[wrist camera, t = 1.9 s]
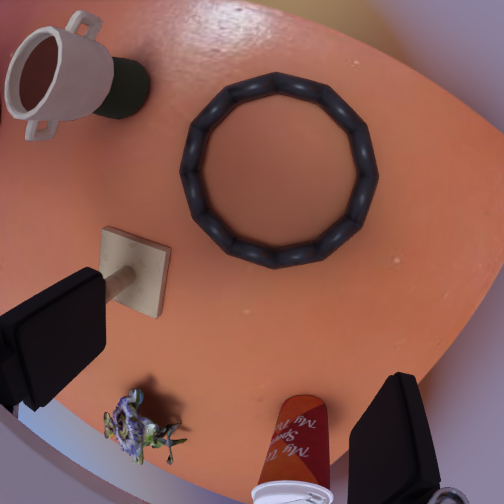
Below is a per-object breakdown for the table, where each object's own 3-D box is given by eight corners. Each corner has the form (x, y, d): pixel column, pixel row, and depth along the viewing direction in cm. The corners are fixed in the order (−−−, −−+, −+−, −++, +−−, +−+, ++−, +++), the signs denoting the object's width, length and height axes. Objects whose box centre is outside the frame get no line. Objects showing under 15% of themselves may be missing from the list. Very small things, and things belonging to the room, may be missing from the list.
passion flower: (152, 371, 44) (115, 375, 32) (210, 412, 41) (188, 431, 30) (120, 423, 41) (79, 438, 30) (174, 463, 39) (145, 492, 27)
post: (104, 289, 34) (41, 334, 23) (108, 226, 31) (33, 259, 21) (161, 314, 33) (106, 374, 23) (171, 248, 30) (105, 295, 20)
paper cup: (303, 377, 32) (289, 484, 19) (348, 409, 32) (349, 509, 19) (258, 409, 35) (231, 503, 22) (303, 437, 35) (290, 527, 22)
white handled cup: (125, 36, 24) (38, 0, 12) (177, 52, 24) (93, 4, 12) (84, 127, 28) (-12, 129, 16) (129, 151, 28) (30, 160, 16)
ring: (171, 231, 30) (163, 236, 28) (212, 62, 24) (205, 57, 22) (337, 285, 28) (338, 294, 26) (395, 111, 22) (401, 108, 21)
